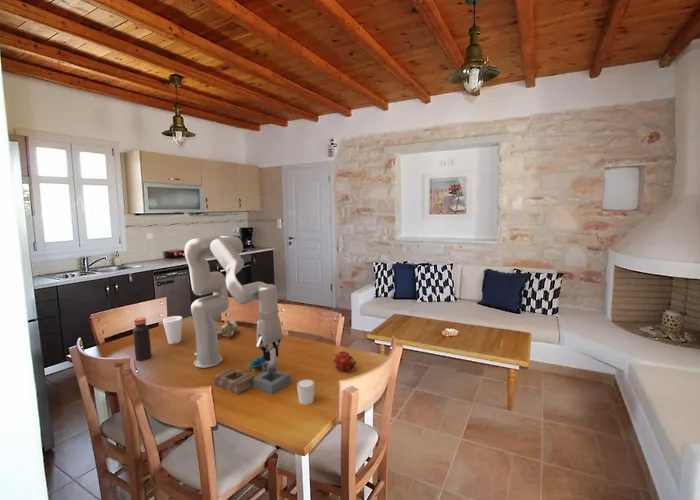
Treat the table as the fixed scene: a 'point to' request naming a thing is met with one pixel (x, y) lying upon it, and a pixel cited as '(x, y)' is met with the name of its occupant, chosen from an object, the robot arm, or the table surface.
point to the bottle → (141, 339)
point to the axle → (272, 360)
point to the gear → (257, 363)
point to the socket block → (278, 381)
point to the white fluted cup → (306, 391)
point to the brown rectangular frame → (234, 380)
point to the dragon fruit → (344, 361)
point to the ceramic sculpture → (228, 329)
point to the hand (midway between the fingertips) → (271, 357)
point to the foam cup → (173, 328)
